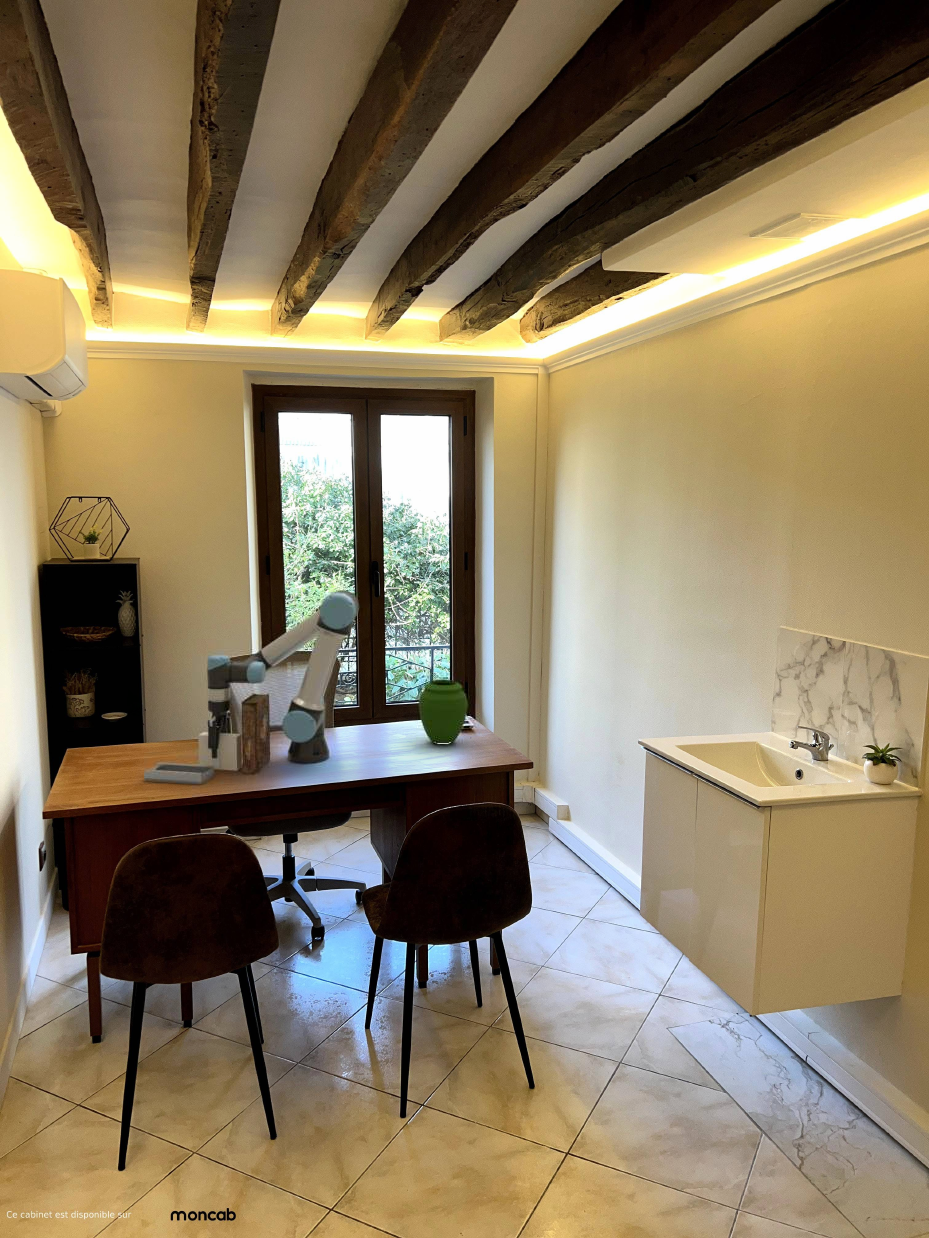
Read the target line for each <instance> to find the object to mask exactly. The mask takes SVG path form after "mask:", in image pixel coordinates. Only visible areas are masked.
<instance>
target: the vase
mask: <svg viewBox="0 0 929 1238" xmlns="http://www.w3.org/2000/svg"><path fill="white" fill-rule="evenodd" d="M468 707H469V704H468V699H467V694H466V693H465V691H463V686H462V685H461V683H459V682H458V681H455V680H451V679H435V680H431V681H429V682H428V683H427V684H425V685H424V690H423V691H422V692H421V693H420V696H419V700H418V709H419V717H420V722H421V724H422V727H423V730H424V732H425V734H426V736H427V738H428V739H429V740H430V742H431V743H433V742H436V743H449V742H453V741H454V742H455V741H456V740H457V739H458V737H459V736H460V734H461V732H462V730H463V727H464V725H465V721H466V717H467V712H468ZM454 742H453V743H454Z"/></svg>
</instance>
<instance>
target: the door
mask: <svg viewBox="0 0 929 1238" xmlns="http://www.w3.org/2000/svg"><path fill="white" fill-rule="evenodd" d="M218 748H220V767H214V770H218V771H219V770H221V771H222V770H223V771H236V772H237V771H238V770H240V769H241V768H243V757H242V733H240V734H239V733H231V734H228V733H220V738H219V746H218ZM198 765H206V766H212V754H211V749H208V731H207V732H206V731H204V732H201V733H200V734H198Z"/></svg>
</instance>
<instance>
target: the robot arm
mask: <svg viewBox="0 0 929 1238" xmlns="http://www.w3.org/2000/svg"><path fill="white" fill-rule="evenodd" d="M359 603H360V602H359V600H358V598H357V597H356V595H355V594H354V593H352V592H351V591H349V590H343V589H342V590H341V589H340V590H337V591H334V592H333V593H330V594H329V595H327V596H326V597H325V598H324V599H323V601H322V602H321V604H320V605H319V606H318V607H317V610H316V611H315V612H313V613H312V614H310V616H308V617H307V618H305V619H304V620H302V621H301V622H299V623H298V624H297V625H295V626H293V627H292V628H290V629H289V630H287V631H286V632H285V633H283V634H282V635H281V636H279V637H278V638H276V639H274V641H272V642H270V643H269V644H268V645H266V646H264V647H263V648H262V649H261V650H259V651H257V652H255V653H254V654H253V655H251V656H249V658H247V659H246V660H245V661H231V659H230V655H226V654H214V655H210V656H209V657H208V658H207V662H206V663H207V667H206V673H207V674H206V675H207V677H206V680H207V690H206V692H207V700H208V701H207V709H208V711H209V712H211V719H210V720H209V719H208V720H207V727H208V728H207V732H208V749H211V754H212V766H214V767H220V748H218V746H219V738H220V733H228V734H232V722H231V721H232V719H231V718H232V717H231V716H232V712H230V710H231V699H230V698H231V684H252V685H255V684H262V683H264V681H265V678H266V673H267V671H269V670H271V669H272V668H273V667H275V666H276V665H278V664H279V663H280V662H282V661H284V660H285V659H286V658H288V657H289V656H291V655H293V654H294V653H296V652H297V651H298V650H300V649H301V648H303V647H305V646H306V645H307V644H309V643H310V642H311V641H313V640H314V639H315V642H314V645H313V648H312V651H311V653H310V657H309V661H308V663H307V666H306V669H305V672H304V674H303V675H304V676H303V679H302V682H301V684H300V687H299V690H298V694H297V695H295V696H292V698H291V701H290V704H289V706H288V709H287V713H286V714H285V716H284V717H283V720H282V724H281V725H282V727H281V729H282V732H283V733H284V735H285V737H287V739H289V740H290V743H289V747H288V750H287V759H288V761H290V762H294V763H298V764H310V763H311V764H312V763H319V762H324V761H326V760H328V759H329V758H330V750H329V749H330V748H329V746H328V743H327V740H326V736H325V706H326V704H325V699H324V697H325V693H326V691H327V686H328V684H329V681H330V678H331V676H332V672H333V669H334V666H335V663H336V659H337V657H338V654H339V651H340V648H341V645H342V641H343V640H344V639H345V638H347V637H348V636H349V635H350V632H351V630H352V627H353V623H354V621H355V618H356V616H357V615H359V610H360V604H359Z"/></svg>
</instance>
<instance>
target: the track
mask: <svg viewBox="0 0 929 1238" xmlns="http://www.w3.org/2000/svg"><path fill="white" fill-rule="evenodd" d="M143 773H144V774H143V775H144V776H143V777H144V782H152V783H153V782H154V783H170V784H185V785H199V786H201V785H203V784H205V782H207V781H209V780H210V779H213V777H215V769H214V766H206V765H199V764H189V763H188V764H187V763H173V762H157V763H156V766H155V767H154V768H152V769H145V770H144V772H143Z"/></svg>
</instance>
